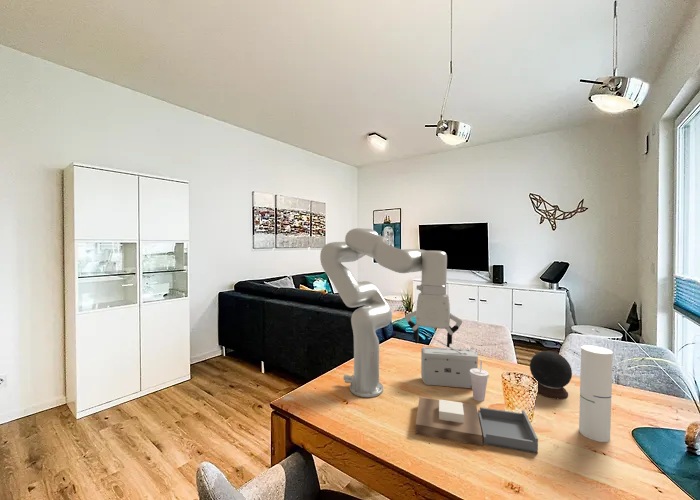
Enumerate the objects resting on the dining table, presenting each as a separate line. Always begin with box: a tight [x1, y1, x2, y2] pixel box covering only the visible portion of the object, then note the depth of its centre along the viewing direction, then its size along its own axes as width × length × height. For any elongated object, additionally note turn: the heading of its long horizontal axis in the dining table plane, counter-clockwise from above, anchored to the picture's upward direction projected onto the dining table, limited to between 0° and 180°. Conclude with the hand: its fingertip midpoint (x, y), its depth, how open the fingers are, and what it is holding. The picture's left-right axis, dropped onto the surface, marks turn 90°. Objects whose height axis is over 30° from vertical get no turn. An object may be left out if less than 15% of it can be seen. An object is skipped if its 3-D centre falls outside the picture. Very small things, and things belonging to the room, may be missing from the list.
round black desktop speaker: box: [529, 350, 573, 400], centre depth 115 cm, size 13×13×15 cm
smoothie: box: [470, 359, 490, 402], centre depth 110 cm, size 6×6×14 cm
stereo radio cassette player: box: [420, 334, 479, 389], centre depth 121 cm, size 21×8×20 cm, turn 80°
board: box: [415, 396, 483, 447], centre depth 95 cm, size 18×16×3 cm
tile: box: [438, 399, 464, 423], centre depth 94 cm, size 7×7×2 cm
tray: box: [477, 407, 539, 455], centre depth 90 cm, size 13×14×4 cm
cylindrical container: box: [578, 344, 614, 443], centre depth 89 cm, size 7×7×25 cm
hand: (432, 343), depth 97 cm, fingers open, 9 cm apart
